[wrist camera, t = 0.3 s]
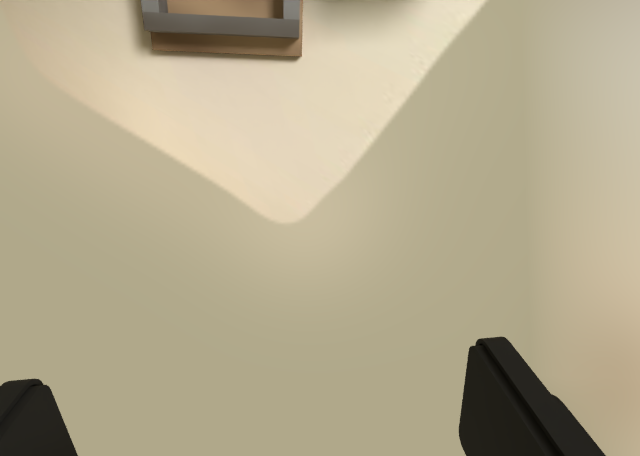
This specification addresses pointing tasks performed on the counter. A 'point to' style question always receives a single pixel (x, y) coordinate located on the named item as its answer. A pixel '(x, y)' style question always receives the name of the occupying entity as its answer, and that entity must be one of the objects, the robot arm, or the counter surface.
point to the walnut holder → (225, 26)
